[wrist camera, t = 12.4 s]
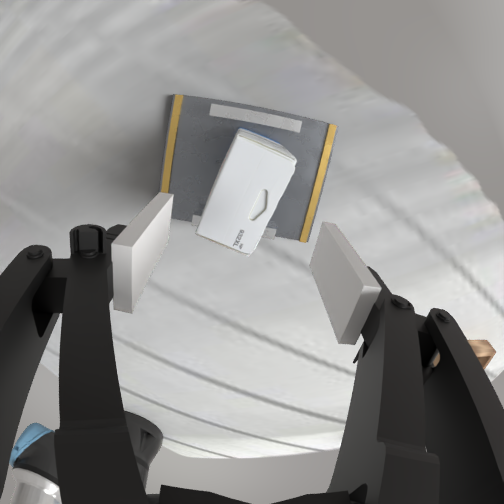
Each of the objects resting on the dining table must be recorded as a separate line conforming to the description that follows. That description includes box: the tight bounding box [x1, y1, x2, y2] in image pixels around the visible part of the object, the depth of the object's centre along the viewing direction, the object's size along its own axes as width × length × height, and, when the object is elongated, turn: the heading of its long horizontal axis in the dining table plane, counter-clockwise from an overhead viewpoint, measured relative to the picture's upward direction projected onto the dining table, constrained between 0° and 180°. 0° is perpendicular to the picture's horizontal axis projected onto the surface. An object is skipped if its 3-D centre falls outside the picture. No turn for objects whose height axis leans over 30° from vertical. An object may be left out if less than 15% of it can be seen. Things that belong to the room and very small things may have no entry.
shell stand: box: [433, 340, 496, 369], centre depth 48 cm, size 16×12×4 cm
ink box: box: [195, 127, 297, 257], centre depth 27 cm, size 8×5×12 cm, turn 156°
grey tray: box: [159, 94, 339, 243], centre depth 32 cm, size 18×14×4 cm
